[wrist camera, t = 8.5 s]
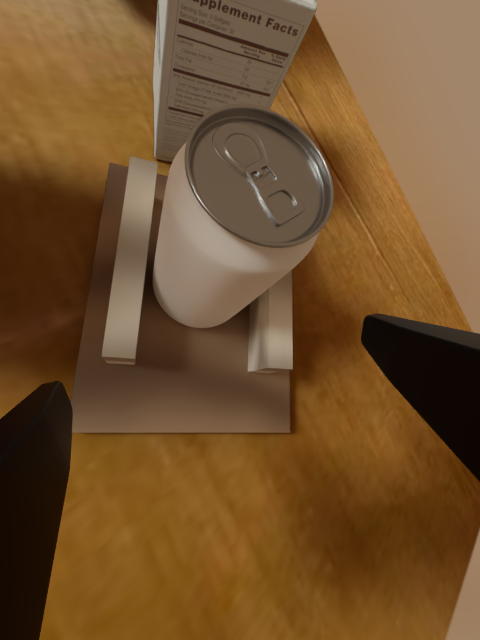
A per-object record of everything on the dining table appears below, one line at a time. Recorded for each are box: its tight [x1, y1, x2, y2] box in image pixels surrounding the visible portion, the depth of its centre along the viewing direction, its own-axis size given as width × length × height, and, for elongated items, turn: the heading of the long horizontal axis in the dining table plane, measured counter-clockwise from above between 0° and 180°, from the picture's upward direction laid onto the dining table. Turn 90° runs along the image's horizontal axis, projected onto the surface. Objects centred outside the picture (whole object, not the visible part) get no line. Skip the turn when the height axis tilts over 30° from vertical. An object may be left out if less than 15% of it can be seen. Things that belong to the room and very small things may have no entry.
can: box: [153, 104, 334, 328], centre depth 16 cm, size 6×6×12 cm
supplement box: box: [153, 0, 317, 162], centre depth 20 cm, size 7×7×13 cm
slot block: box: [71, 156, 293, 433], centre depth 21 cm, size 18×14×5 cm
